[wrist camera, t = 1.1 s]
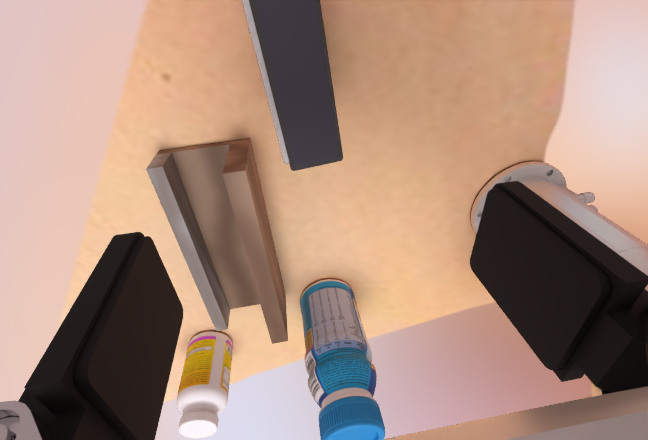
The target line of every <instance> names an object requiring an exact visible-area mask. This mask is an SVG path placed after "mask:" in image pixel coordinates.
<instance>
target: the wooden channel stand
mask: <svg viewBox="0 0 648 440" xmlns="http://www.w3.org/2000/svg"><path fill="white" fill-rule="evenodd" d="M146 170H147V172H148V175H149V177H150V179H151V181H152V184H153V186H154V188H155V191H156V193H157V195H158V198H159V200H160V202H161V205H162V207H163V209H164V211H165V214H166V216H167V218H168V221H169V223H170V225H171V228H172V230H173V232H174V234H175V237H176V239H177V241H178V244H179V246H180V248H181V251H182V253H183V255H184V258H185V260H186V262H187V264H188V267H189V269H190V271H191V274H192V276H193V278H194V281H195V283H196V285H197V287H198V290H199V292H200V294H201V297H202V299H203V301H204V304H205V306H206V308H207V311H208V313H209V315H210V317H211V320H212V322H213V324H214V327H215V329H216V331H219V330H225V329H228V322H229V314H230V309H233V308H239V307H245V306H251V305H257V304H261V307H262V311H263V314H264V317H265V321H266V324H267V328H268V331H269V334H270V338H271V341H272V344H273V343H278V342H284V341H288V335H287V316H286V298H285V291H284V287H283V282H282V278H281V273H280V269H279V265H278V260H277V256H276V251H275V247H274V243H273V238H272V234H271V229H270V225H269V221H268V216H267V212H266V207H265V203H264V199H263V194H262V190H261V185H260V181H259V176H258V172H257V168H256V163H255V159H254V154H253V150H252V146H251V141H250V138H248V139H240V140H233V141H226V142H219V143H211V144H204V145H197V146H190V147H182V148H175V149H168V150H161V151H159V152H158V153H157V154H156V156H155V157H154V159H153V160H152V161H151V163H150V164H149V166H148V167H147V168H146Z"/></svg>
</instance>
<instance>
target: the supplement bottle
mask: <svg viewBox="0 0 648 440" xmlns="http://www.w3.org/2000/svg"><path fill="white" fill-rule="evenodd" d="M232 348H233V345H232V341H231V340H230V338H229V337H228V336H226V335H224V334H222V333H219V332H213V331H209V332H203V333H200V334H198V335H196V336H195V337H193V338H192V339H191V341H190V343H189V346H188V350H187V354H186V359H185V364H184V368H183V373H182V377H181V382H180V386H179V391H178V395H177V401H176V405H177V409H178V410H179V412H180V413H181V414H182V415H183V416H182V418H181V419H180V424H179V429H178V430H179V433H180V434H181V435H183V436H185V437H188V438H204V437H207V436H210V435H212V434H214V433H215V432H216V430H217V425H218V417H217V414H219V413H220V412H222V411H223V410H224V408H225V407H226V405H227V401H228V389H229V380H230V370H231V360H232Z"/></svg>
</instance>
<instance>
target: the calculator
mask: <svg viewBox="0 0 648 440" xmlns="http://www.w3.org/2000/svg"><path fill="white" fill-rule="evenodd" d="M242 2H243V6H244V10H245V14H246V17H247V21H248V25H249V27H248V29H249V32H250V33H251V37H252V41H253V44H254V48H255V52H256V56H257V60H258V64H259V67H260V71H261V75H262V79H263V83H264V87H265V91H266V94H267V98H268V102H269V106H270V110H271V114H272V117H273V121H274V125H275V129H276V133H277V137H278V141H279V144H280V148H281V152H282V156H283V160H284V163H285V164H288V163H290V167H291V170H292V171H295V170H300V169H305V168H310V167H314V166H319V165H323V164H328V163H333V162H337V161H341V160H342V159H343V153H342V147H341V140H340V133H339V126H338V120H337V113H336V106H335V99H334V93H333V86H332V79H331V72H330V66H329V59H328V52H327V45H326V39H325V32H324V25H323V18H322V11H321V5H320V0H242Z"/></svg>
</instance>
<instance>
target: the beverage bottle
mask: <svg viewBox="0 0 648 440" xmlns="http://www.w3.org/2000/svg"><path fill="white" fill-rule="evenodd" d="M300 306H301V312H302V317H303V327H304V337H305V347H306V354H305V365H306V370H307V372H308V374H309V379H308V386H309V389H310V392H311V394H312V396H313V398H314V400H315V401H316V402H317V404H318V405H319V406H320V408H321V410H320V412H319V427H320V436H321V440H383V439H384V437H385V427H384V424H383V420H382V416H381V412H380V409H379V406H378V404H377V402H376V400H375V399H374V398H373V395H374V391H375V387H376V370H375V367H374V365H373V364H372V363H371V361H372V353H371V348H370V346H369V344H368V342H367V339H366V336H365V332H364V329H363V325H362V322H361V319H360V315H359V312H358V308H357V305H356V301H355V297H354V293H353V291H352V289H351V288H350V286H349V285H347V284H346V283H344V282H342V281H339V280H334V279H327V280H321V281H318V282H316V283H314V284H312V285H310V286H309V287H308V288H307V289H306V290H305V291H304V292H303V294H302V296H301V300H300Z"/></svg>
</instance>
